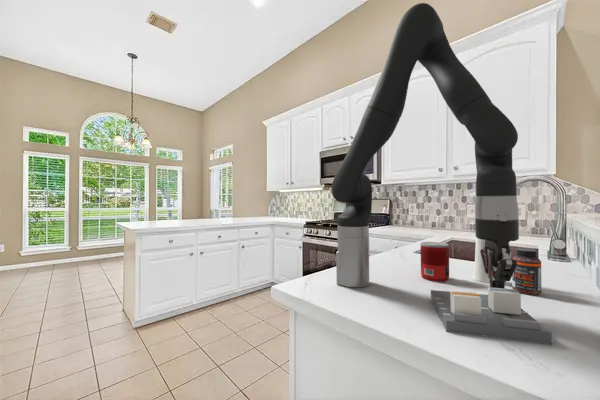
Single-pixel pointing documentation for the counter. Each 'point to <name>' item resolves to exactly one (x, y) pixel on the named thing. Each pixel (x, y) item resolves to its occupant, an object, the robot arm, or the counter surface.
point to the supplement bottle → (527, 272)
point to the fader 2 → (504, 300)
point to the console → (490, 321)
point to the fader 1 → (465, 302)
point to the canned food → (435, 261)
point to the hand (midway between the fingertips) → (497, 297)
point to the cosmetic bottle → (479, 263)
